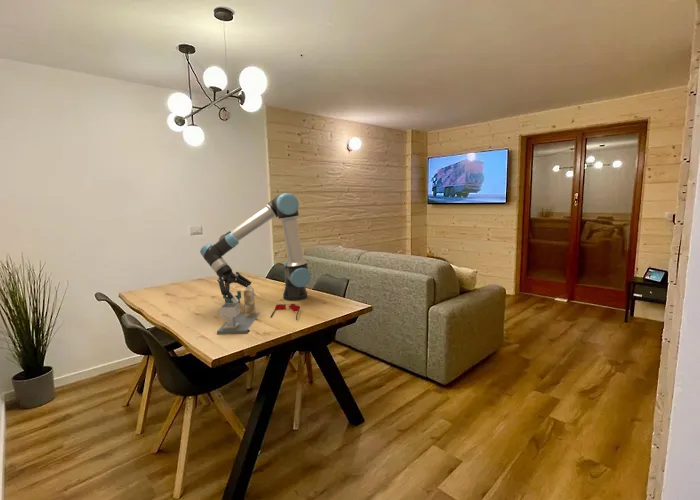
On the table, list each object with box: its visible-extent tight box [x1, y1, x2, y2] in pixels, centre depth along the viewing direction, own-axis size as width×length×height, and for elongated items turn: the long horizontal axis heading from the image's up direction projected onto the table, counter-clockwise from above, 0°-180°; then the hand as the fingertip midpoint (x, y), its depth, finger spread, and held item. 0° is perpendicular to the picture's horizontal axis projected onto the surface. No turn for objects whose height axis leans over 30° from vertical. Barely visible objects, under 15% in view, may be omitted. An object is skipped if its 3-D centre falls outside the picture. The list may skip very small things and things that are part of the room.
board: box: [216, 312, 261, 335], centre depth 179 cm, size 14×26×2 cm, turn 1°
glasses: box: [270, 303, 301, 321], centre depth 189 cm, size 14×16×5 cm
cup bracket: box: [218, 302, 242, 329], centre depth 170 cm, size 8×8×11 cm
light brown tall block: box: [243, 288, 256, 317], centre depth 186 cm, size 4×4×14 cm
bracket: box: [222, 290, 242, 304], centre depth 211 cm, size 9×9×9 cm
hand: (246, 299), depth 185 cm, fingers open, 13 cm apart
